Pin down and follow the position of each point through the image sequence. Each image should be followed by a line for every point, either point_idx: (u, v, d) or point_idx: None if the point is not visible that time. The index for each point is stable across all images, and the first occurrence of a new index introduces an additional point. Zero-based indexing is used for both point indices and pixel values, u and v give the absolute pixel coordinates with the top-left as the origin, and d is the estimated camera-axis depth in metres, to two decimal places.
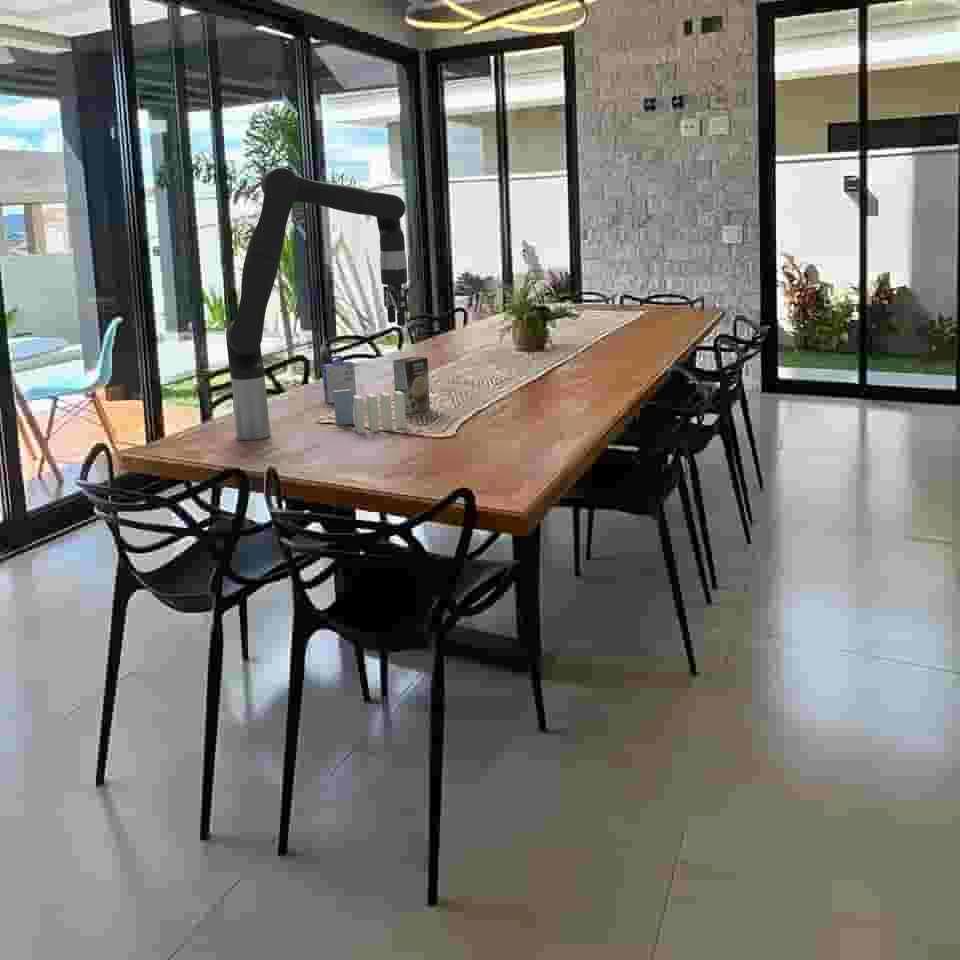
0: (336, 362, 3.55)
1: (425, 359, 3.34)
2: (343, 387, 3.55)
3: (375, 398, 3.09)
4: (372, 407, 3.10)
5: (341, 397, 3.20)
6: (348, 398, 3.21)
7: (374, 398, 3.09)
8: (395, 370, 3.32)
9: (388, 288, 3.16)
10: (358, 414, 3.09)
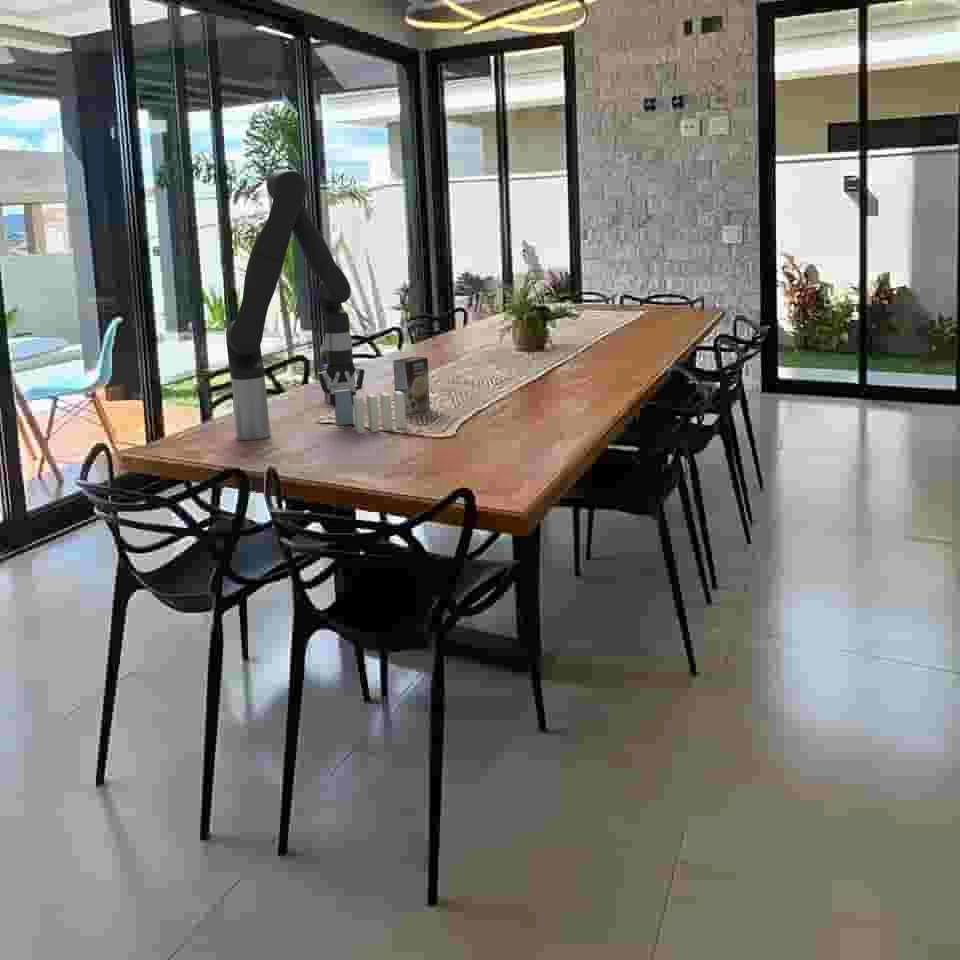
0: None
1: (425, 359, 3.34)
2: (343, 387, 3.55)
3: (375, 398, 3.09)
4: (372, 407, 3.10)
5: (341, 397, 3.20)
6: (348, 398, 3.21)
7: (374, 398, 3.09)
8: (395, 370, 3.32)
9: (332, 369, 3.17)
10: (358, 414, 3.09)
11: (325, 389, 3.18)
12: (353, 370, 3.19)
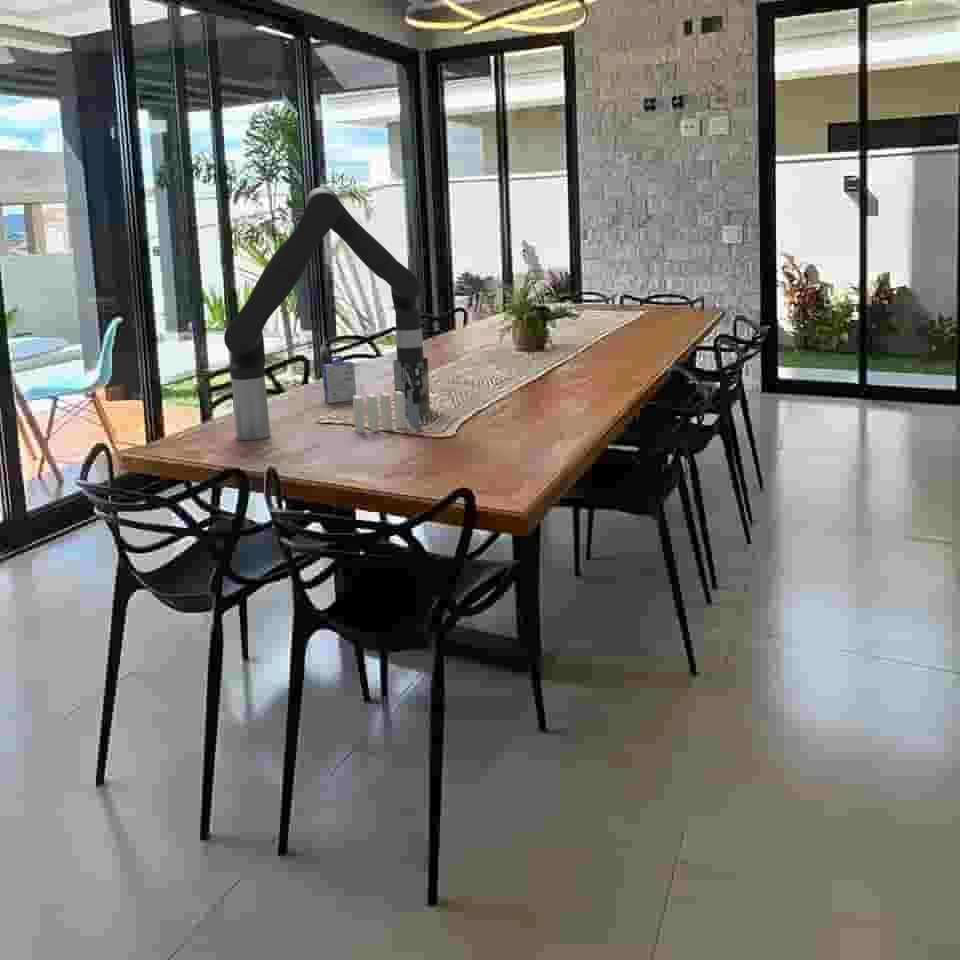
0: (336, 362, 3.55)
1: (425, 359, 3.34)
2: (343, 387, 3.55)
3: (375, 398, 3.09)
4: (372, 407, 3.10)
5: None
6: None
7: (374, 398, 3.09)
8: (395, 370, 3.32)
9: None
10: (358, 414, 3.09)
11: None
12: None
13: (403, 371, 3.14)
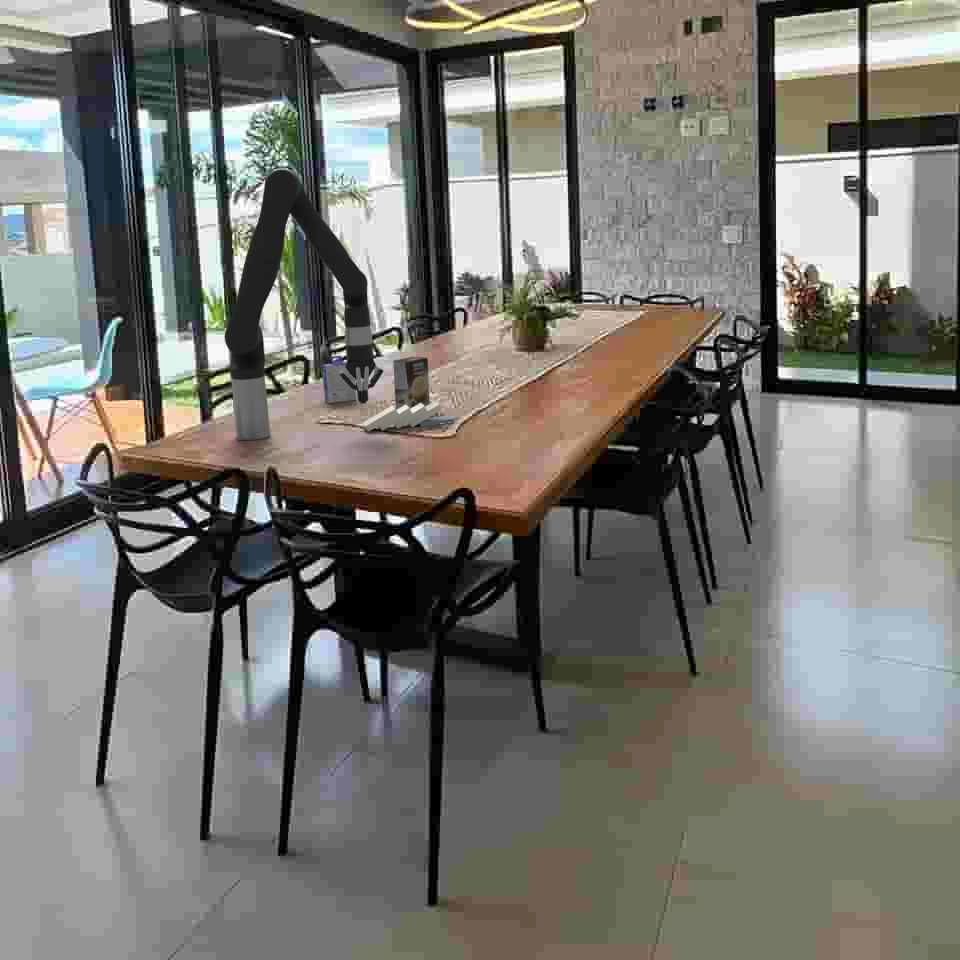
0: (336, 362, 3.55)
1: (425, 359, 3.34)
2: (343, 387, 3.55)
3: (410, 412, 3.13)
4: (401, 414, 3.12)
5: None
6: None
7: (410, 412, 3.13)
8: (395, 370, 3.32)
9: (351, 364, 3.06)
10: (382, 417, 3.11)
11: (353, 385, 3.08)
12: (373, 366, 3.08)
13: None
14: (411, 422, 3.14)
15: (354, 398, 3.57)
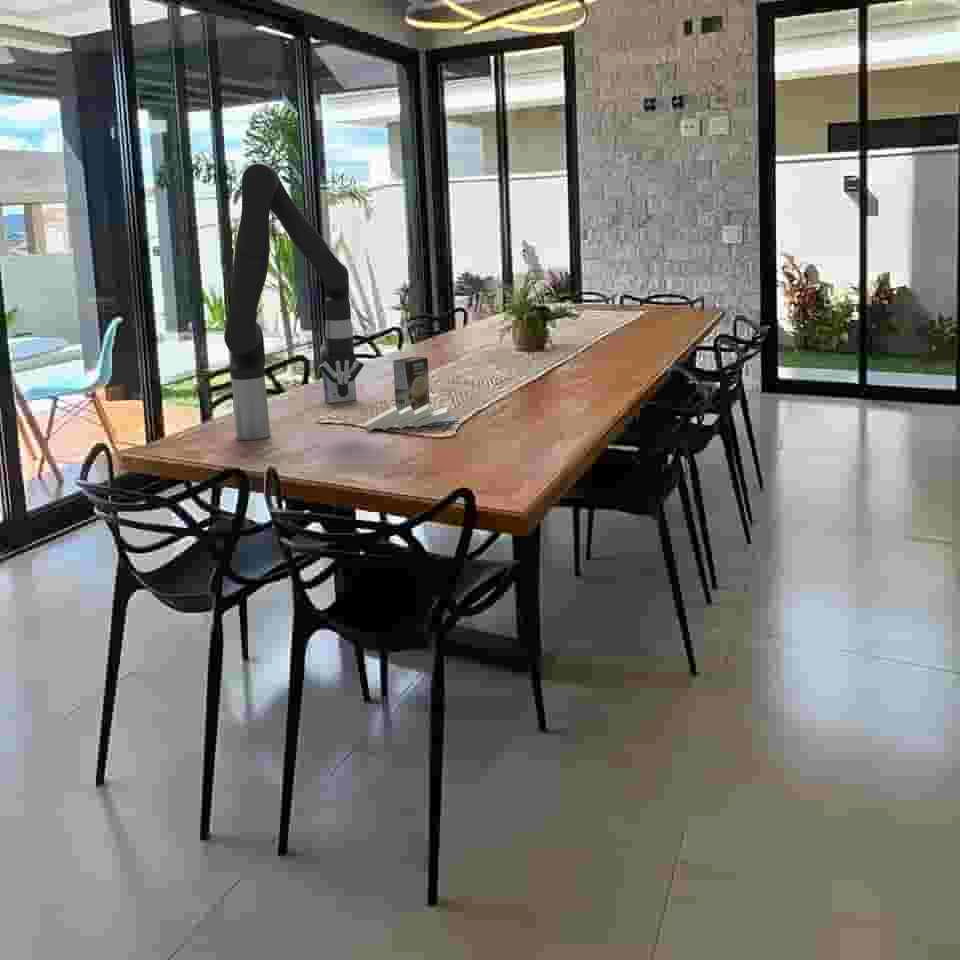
0: None
1: (425, 359, 3.34)
2: None
3: (412, 413, 3.12)
4: (403, 414, 3.12)
5: None
6: None
7: (412, 412, 3.12)
8: (395, 370, 3.32)
9: (331, 357, 3.05)
10: (383, 417, 3.12)
11: (333, 379, 3.07)
12: (353, 360, 3.07)
13: None
14: (415, 422, 3.13)
15: (354, 398, 3.57)
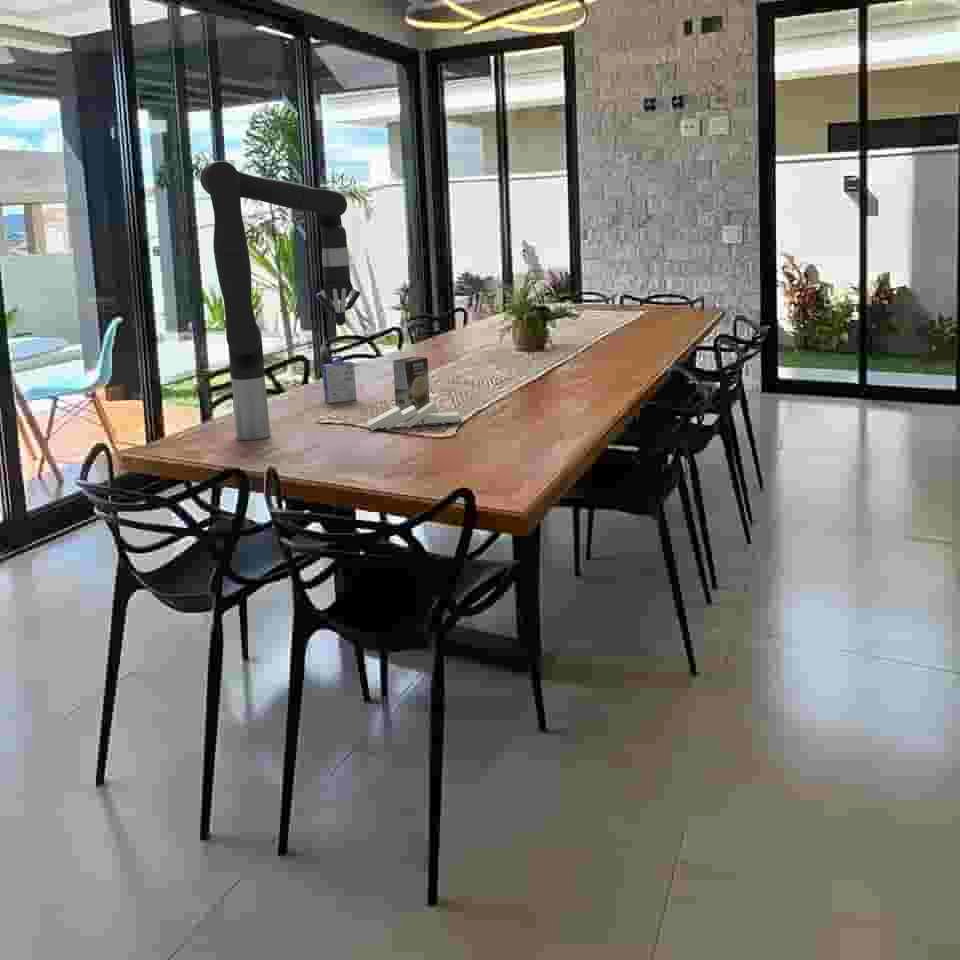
0: (336, 362, 3.55)
1: (425, 359, 3.34)
2: (343, 387, 3.55)
3: (416, 413, 3.13)
4: (406, 414, 3.13)
5: None
6: None
7: (416, 412, 3.13)
8: (395, 370, 3.32)
9: (328, 285, 3.11)
10: (386, 417, 3.12)
11: (330, 307, 3.12)
12: (350, 288, 3.13)
13: None
14: (425, 418, 3.14)
15: (354, 398, 3.57)
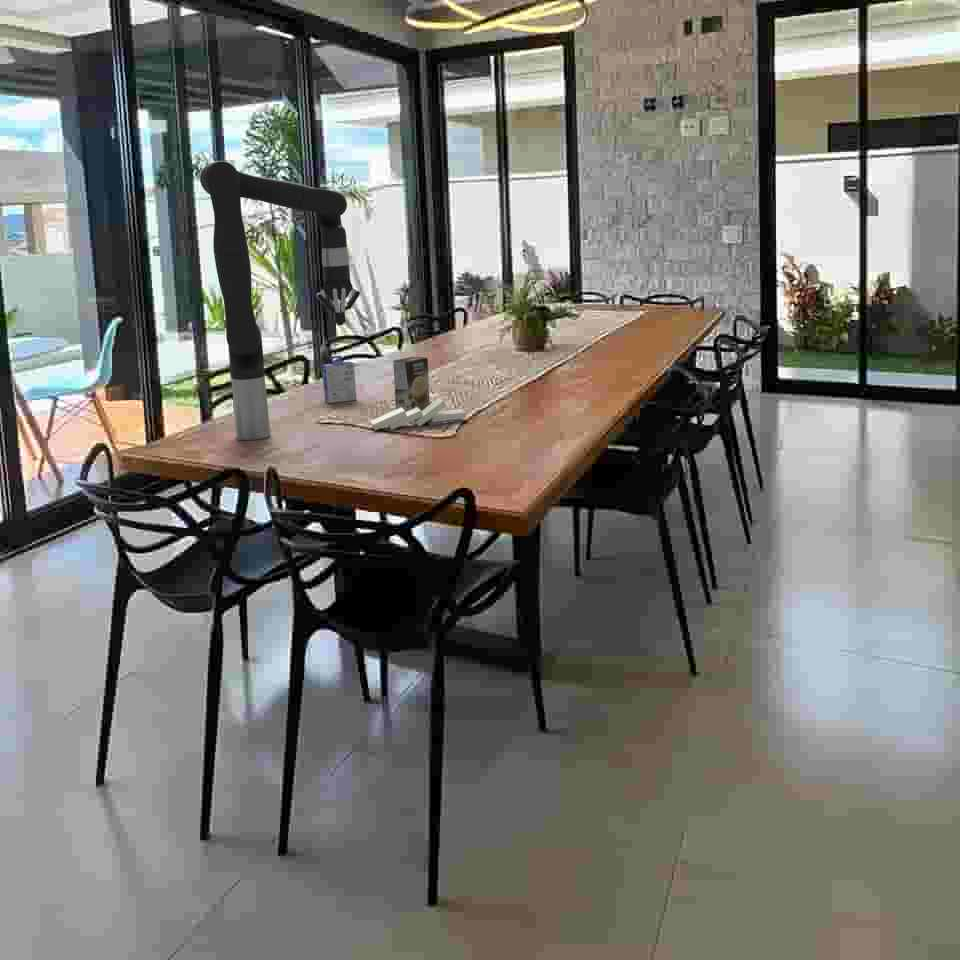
0: (336, 362, 3.55)
1: (425, 359, 3.34)
2: (343, 387, 3.55)
3: (421, 415, 3.14)
4: (412, 415, 3.13)
5: None
6: None
7: (421, 414, 3.14)
8: (395, 370, 3.32)
9: (328, 285, 3.11)
10: (390, 417, 3.12)
11: (330, 307, 3.12)
12: (350, 288, 3.13)
13: None
14: (433, 417, 3.16)
15: (354, 398, 3.57)
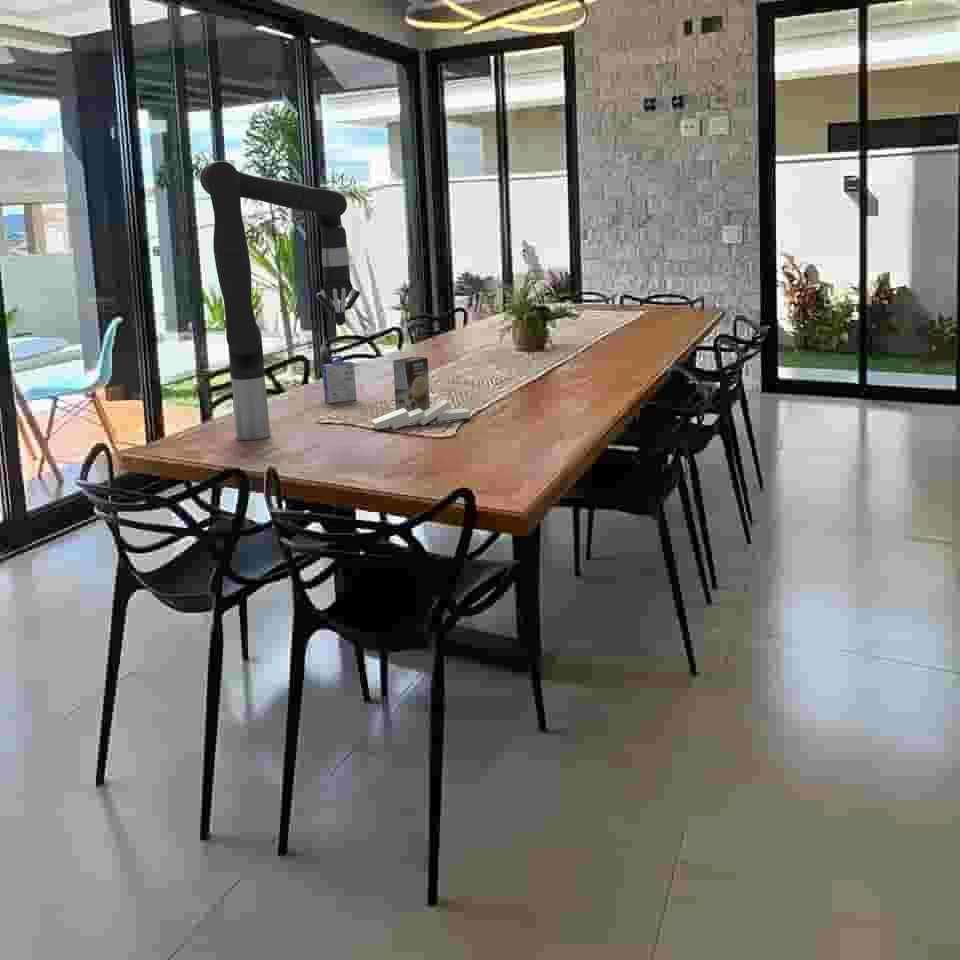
0: (336, 362, 3.55)
1: (425, 359, 3.34)
2: (343, 387, 3.55)
3: (423, 416, 3.15)
4: (414, 416, 3.14)
5: None
6: None
7: (423, 415, 3.15)
8: (395, 370, 3.32)
9: (328, 285, 3.11)
10: (392, 417, 3.12)
11: (330, 307, 3.12)
12: (350, 288, 3.13)
13: None
14: (439, 416, 3.18)
15: (354, 398, 3.57)
